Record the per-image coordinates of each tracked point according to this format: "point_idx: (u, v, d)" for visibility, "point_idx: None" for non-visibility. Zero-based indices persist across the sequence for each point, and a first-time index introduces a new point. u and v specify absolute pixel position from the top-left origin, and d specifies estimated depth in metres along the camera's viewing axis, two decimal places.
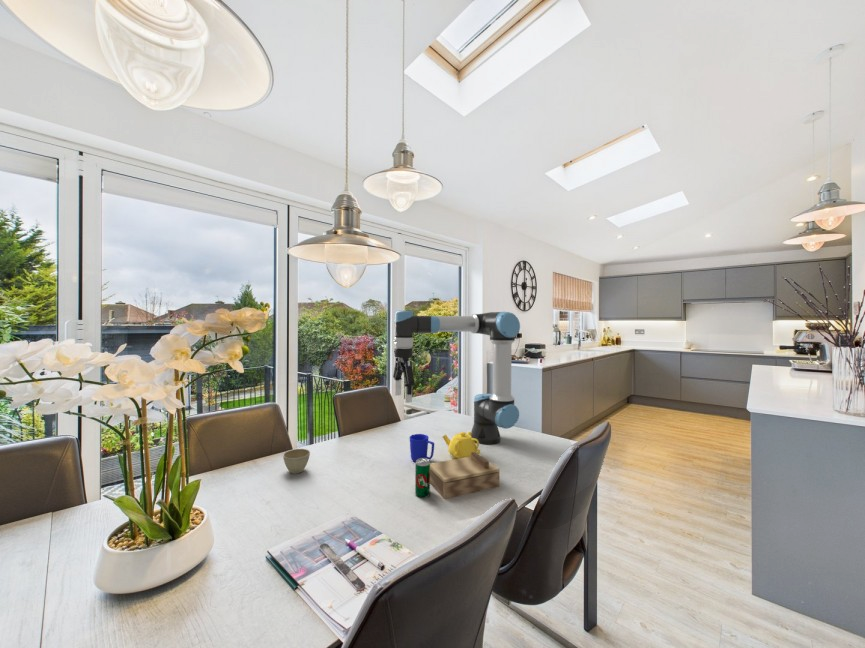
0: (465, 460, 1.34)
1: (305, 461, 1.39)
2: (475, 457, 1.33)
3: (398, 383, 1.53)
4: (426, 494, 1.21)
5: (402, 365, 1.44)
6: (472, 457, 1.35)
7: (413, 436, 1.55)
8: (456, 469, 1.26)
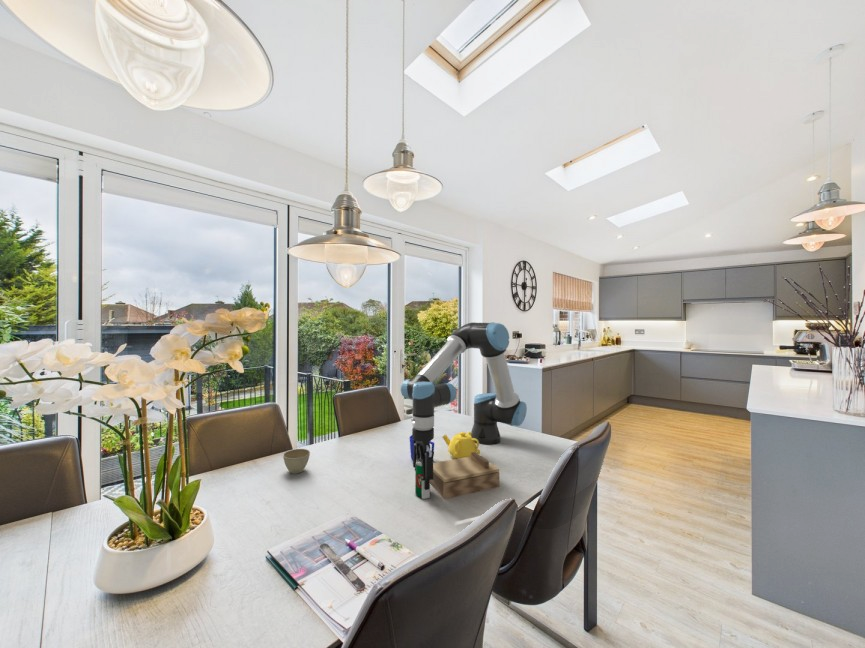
0: (465, 460, 1.34)
1: (305, 461, 1.39)
2: (475, 457, 1.33)
3: None
4: None
5: (421, 451, 1.20)
6: (472, 457, 1.35)
7: None
8: (456, 469, 1.26)
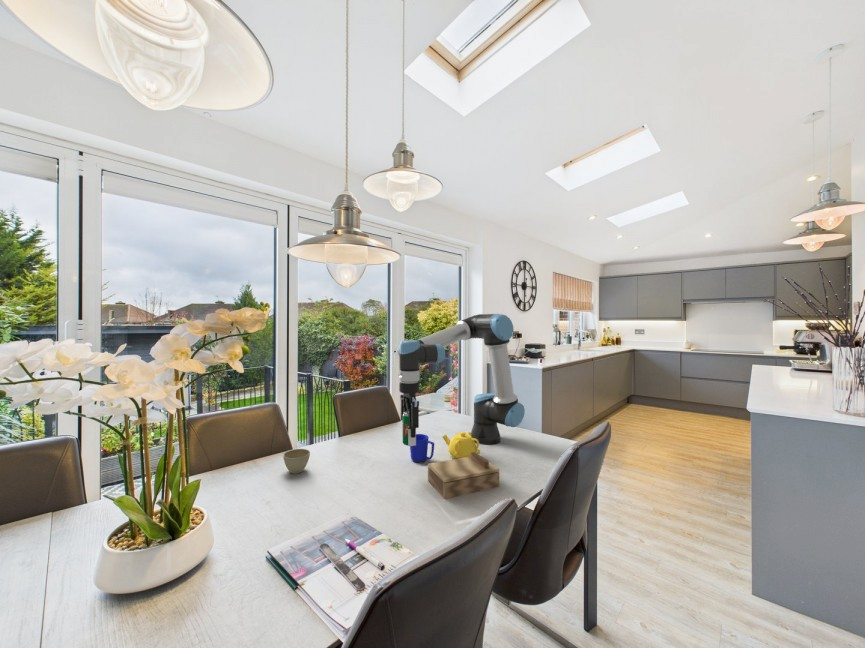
0: (465, 460, 1.34)
1: (305, 461, 1.39)
2: (475, 457, 1.33)
3: None
4: None
5: (408, 403, 1.30)
6: (472, 457, 1.35)
7: None
8: (456, 469, 1.26)
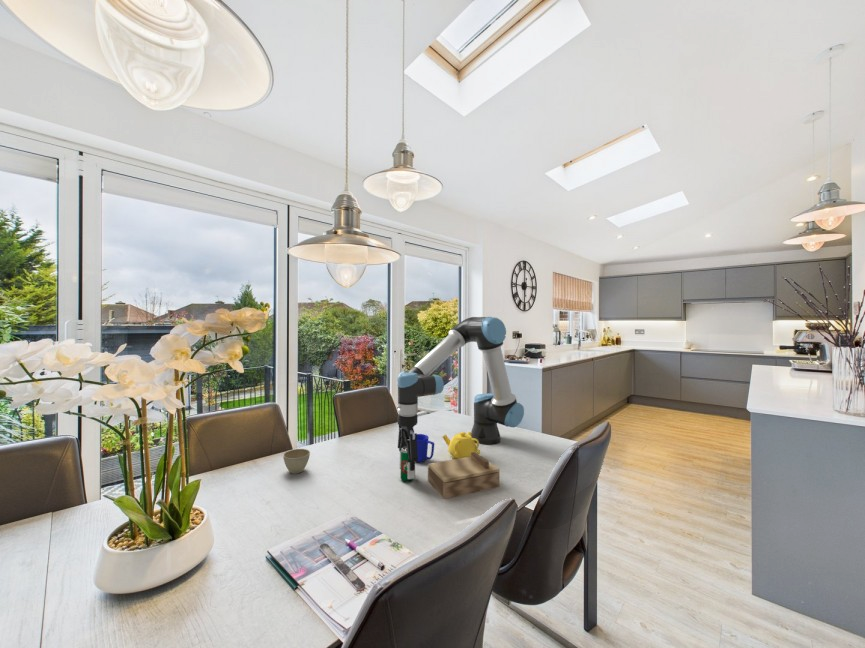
0: (465, 460, 1.34)
1: (305, 461, 1.39)
2: (475, 457, 1.33)
3: None
4: (410, 479, 1.32)
5: (406, 435, 1.31)
6: (472, 457, 1.35)
7: None
8: (456, 469, 1.26)
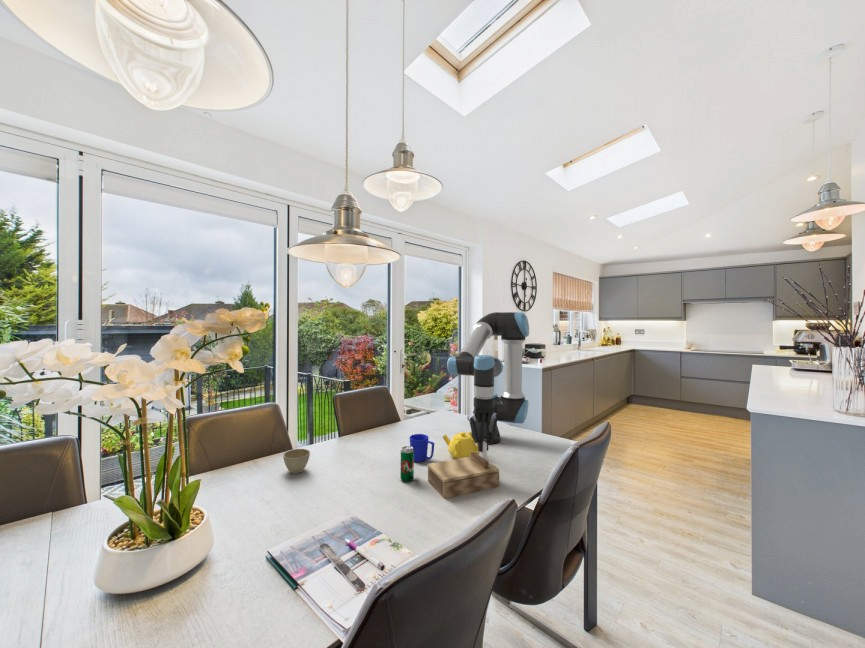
0: (465, 460, 1.34)
1: (305, 461, 1.39)
2: (475, 457, 1.33)
3: None
4: (410, 479, 1.32)
5: None
6: (472, 457, 1.35)
7: (413, 436, 1.55)
8: (456, 469, 1.26)
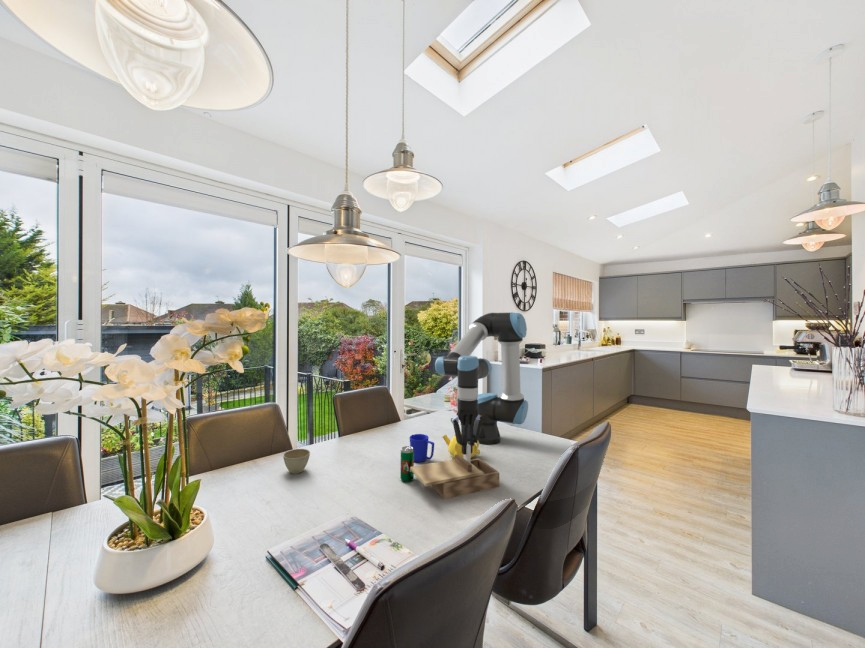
0: (448, 463, 1.31)
1: (305, 461, 1.39)
2: (459, 460, 1.30)
3: None
4: (410, 479, 1.32)
5: None
6: (456, 460, 1.32)
7: (413, 436, 1.55)
8: (439, 472, 1.24)
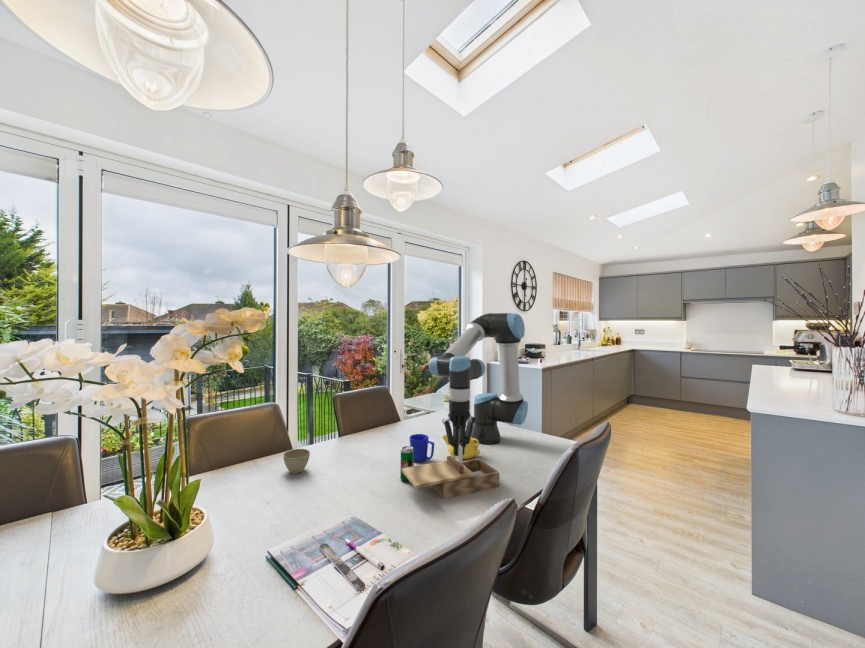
0: (440, 464, 1.30)
1: (305, 461, 1.39)
2: (450, 461, 1.29)
3: None
4: None
5: None
6: (448, 461, 1.31)
7: (413, 436, 1.55)
8: (430, 474, 1.22)
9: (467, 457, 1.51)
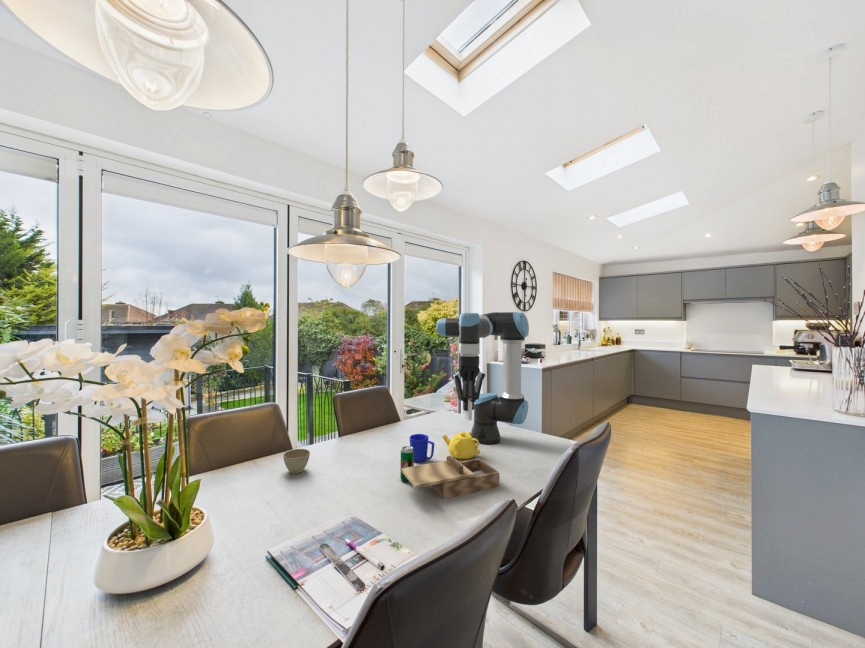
0: (440, 464, 1.30)
1: (305, 461, 1.39)
2: (450, 461, 1.29)
3: None
4: None
5: None
6: (447, 461, 1.31)
7: (413, 436, 1.55)
8: (429, 474, 1.22)
9: (467, 457, 1.51)
